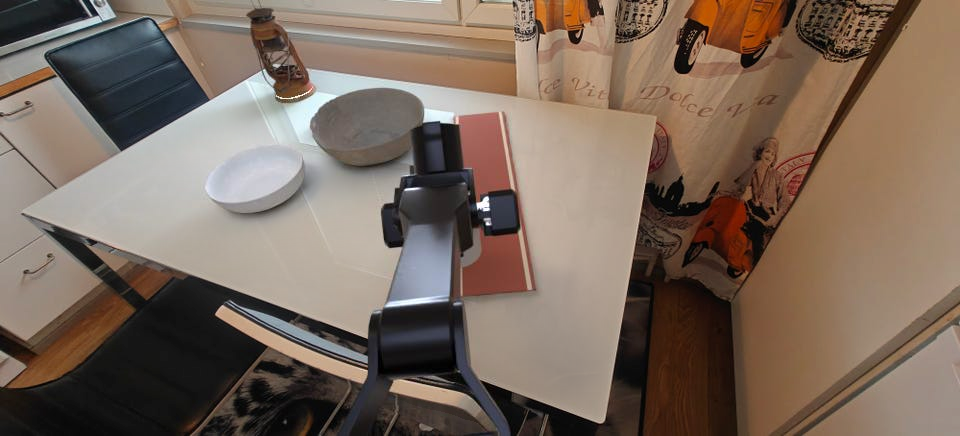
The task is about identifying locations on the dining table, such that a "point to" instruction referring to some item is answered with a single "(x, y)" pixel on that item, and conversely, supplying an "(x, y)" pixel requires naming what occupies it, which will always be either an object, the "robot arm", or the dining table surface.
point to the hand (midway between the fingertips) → (454, 219)
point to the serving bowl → (256, 178)
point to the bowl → (367, 125)
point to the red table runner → (493, 170)
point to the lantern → (289, 76)
